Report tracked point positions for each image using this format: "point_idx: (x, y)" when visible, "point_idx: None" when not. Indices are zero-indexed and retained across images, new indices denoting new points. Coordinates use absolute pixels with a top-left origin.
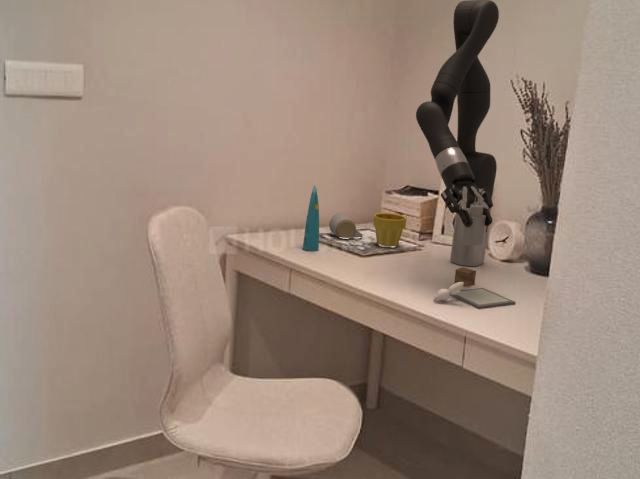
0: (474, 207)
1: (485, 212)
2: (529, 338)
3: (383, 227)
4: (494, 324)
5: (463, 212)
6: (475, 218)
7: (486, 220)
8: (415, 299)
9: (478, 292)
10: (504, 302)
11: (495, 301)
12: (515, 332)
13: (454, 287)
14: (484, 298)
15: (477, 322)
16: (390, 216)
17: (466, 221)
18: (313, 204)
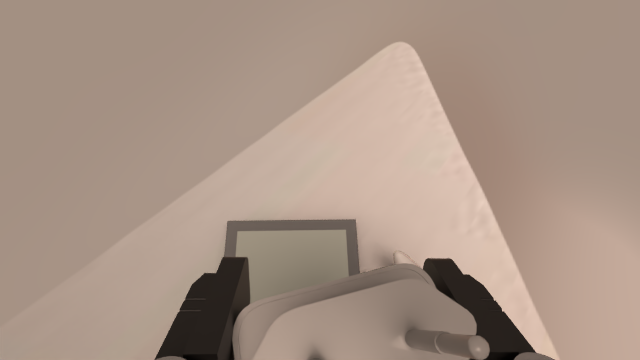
0: (440, 293)
1: (226, 335)
2: (366, 67)
3: None
4: (384, 134)
5: (523, 351)
6: (403, 264)
7: (243, 304)
8: None
9: None
10: (263, 225)
11: (282, 237)
12: (371, 93)
13: (417, 265)
14: (294, 268)
15: (414, 153)
16: None
17: (475, 282)
18: None
